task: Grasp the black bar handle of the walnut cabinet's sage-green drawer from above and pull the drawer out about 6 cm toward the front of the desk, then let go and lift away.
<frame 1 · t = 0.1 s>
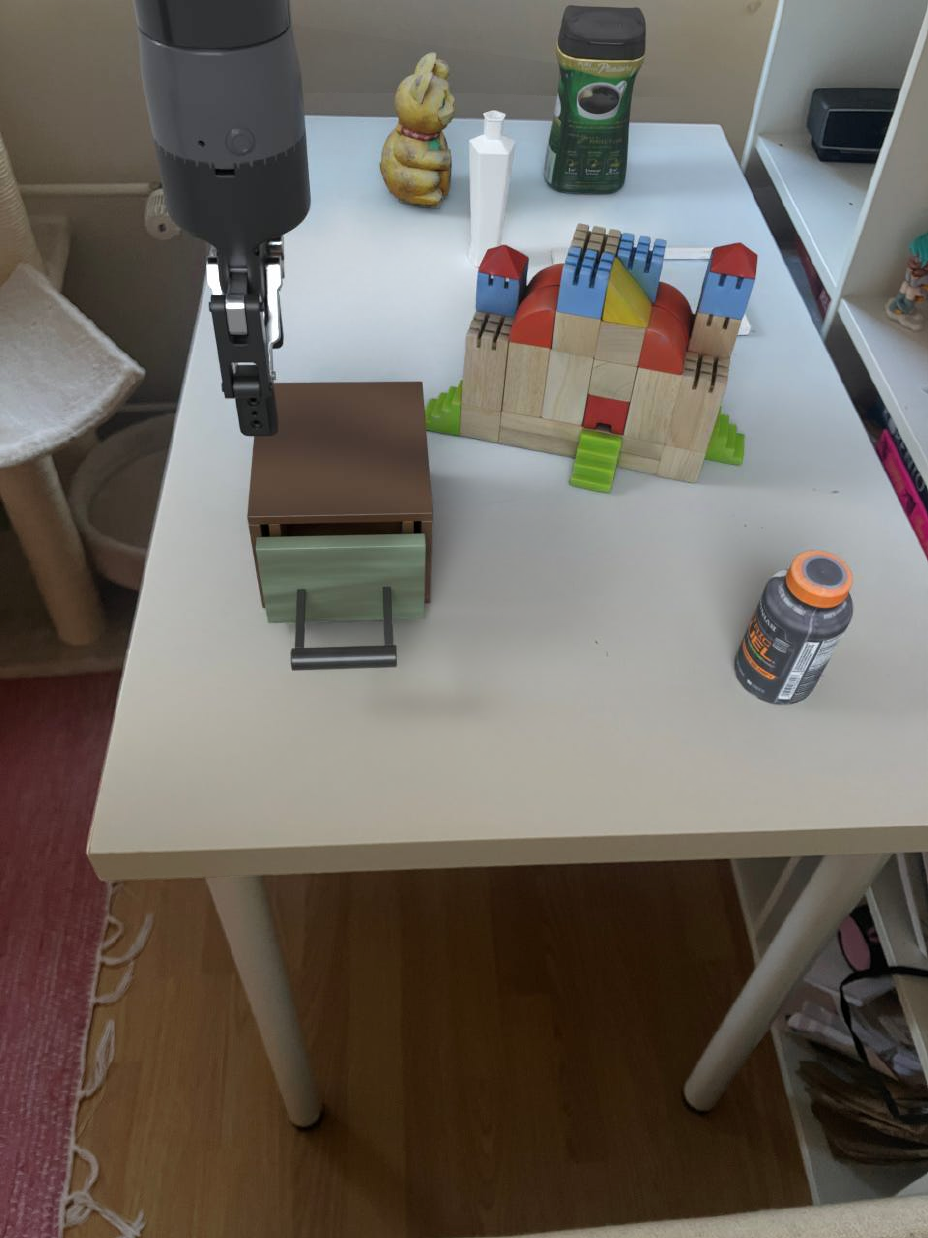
hand: (263, 387, 62), 19 cm above the table, tool pointing down, fingers open, 8 cm apart
block set: (582, 436, 90), on the table
cabinet: (346, 536, 80), on the table
pill bottle: (772, 676, 74), on the table
perfume bottle: (486, 259, 108), on the table
photo frame: (645, 295, 104), on the table
coffee jar: (582, 182, 119), on the table
drawer: (344, 550, 73), point 5 cm above the table, slide at 1.0 cm
decorative figurine: (416, 198, 115), on the table
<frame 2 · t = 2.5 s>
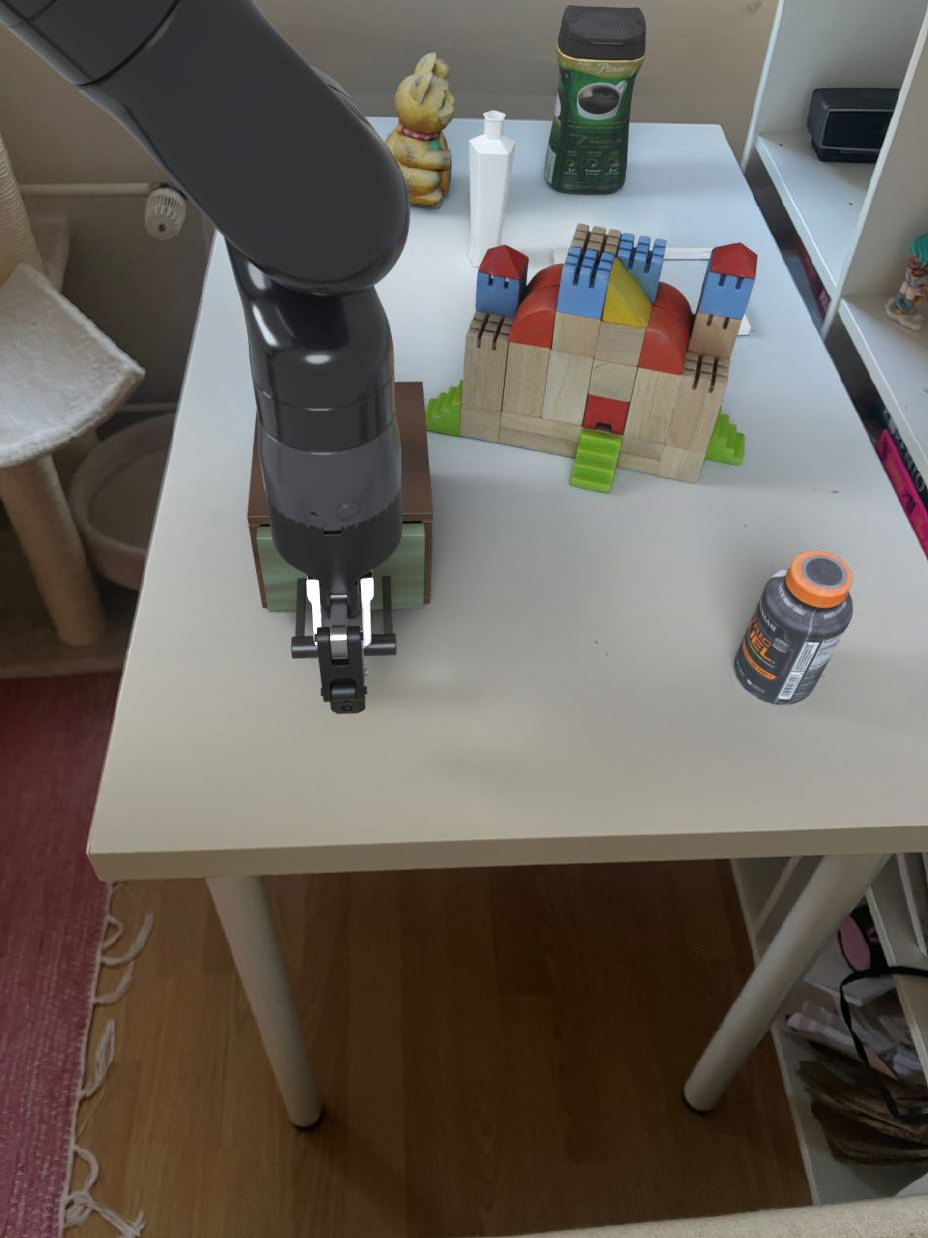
hand: (348, 655, 67), 4 cm above the table, tool pointing down, fingers open, 8 cm apart
drawer: (343, 540, 73), point 5 cm above the table, slide at 0.0 cm, touching cabinet, gripper
everything else where it was.
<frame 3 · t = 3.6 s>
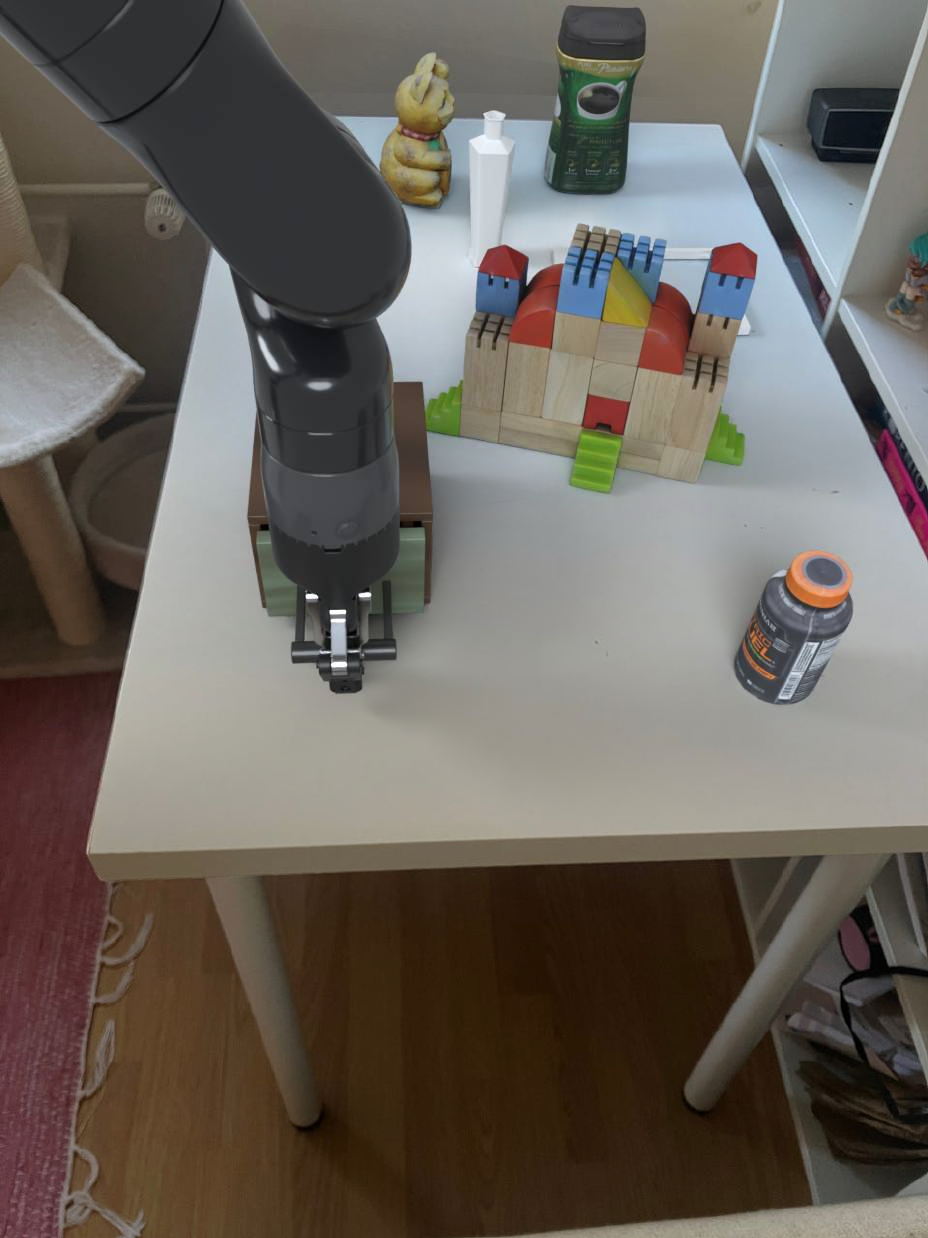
hand: (346, 675, 70), 2 cm above the table, tool pointing down, fingers closed
drawer: (344, 545, 73), point 5 cm above the table, slide at 0.4 cm, touching gripper
everything else where it was.
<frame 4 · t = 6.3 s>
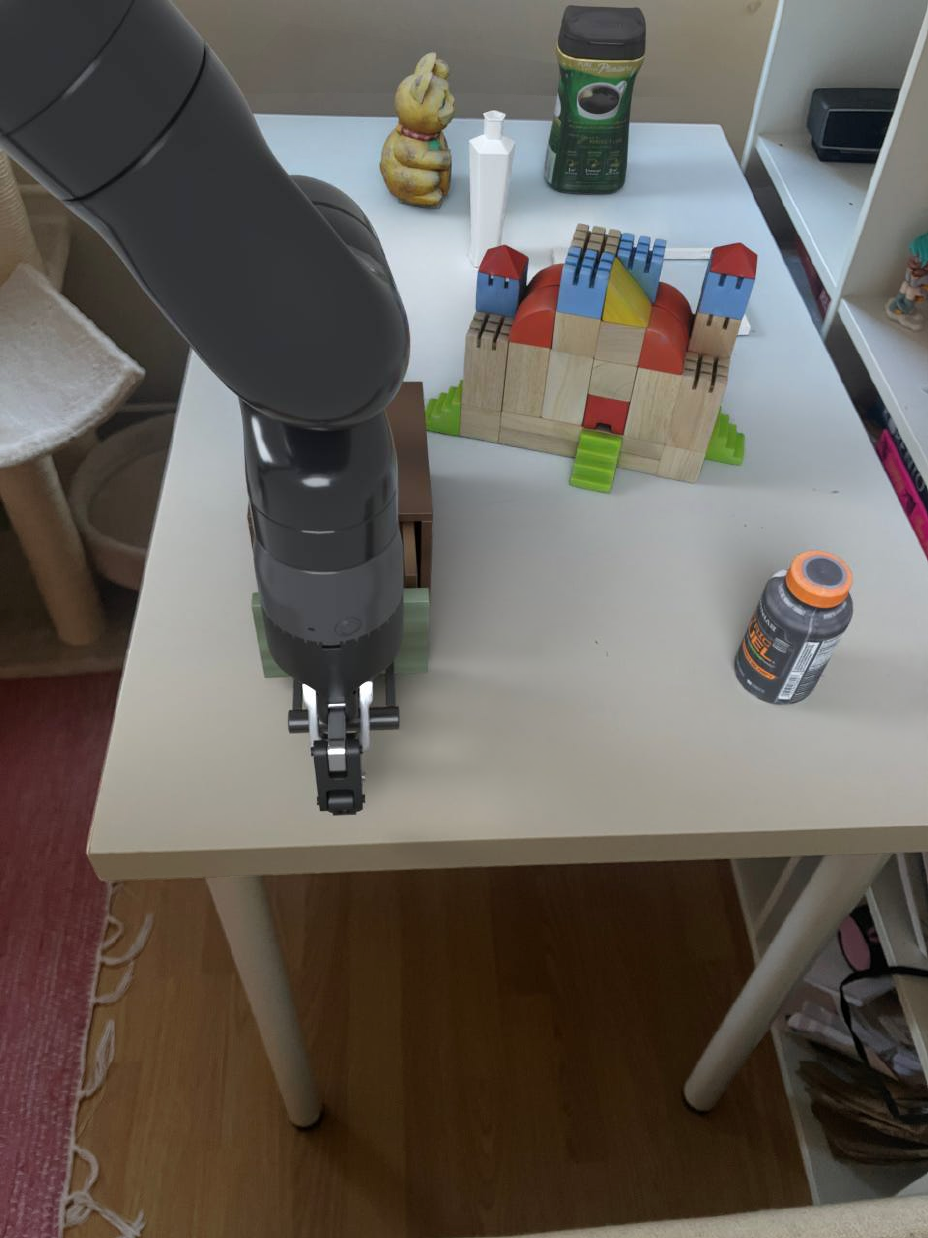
hand: (345, 749, 65), 3 cm above the table, tool pointing down, fingers open, 8 cm apart
drawer: (344, 603, 70), point 5 cm above the table, slide at 6.0 cm, touching gripper
everything else where it was.
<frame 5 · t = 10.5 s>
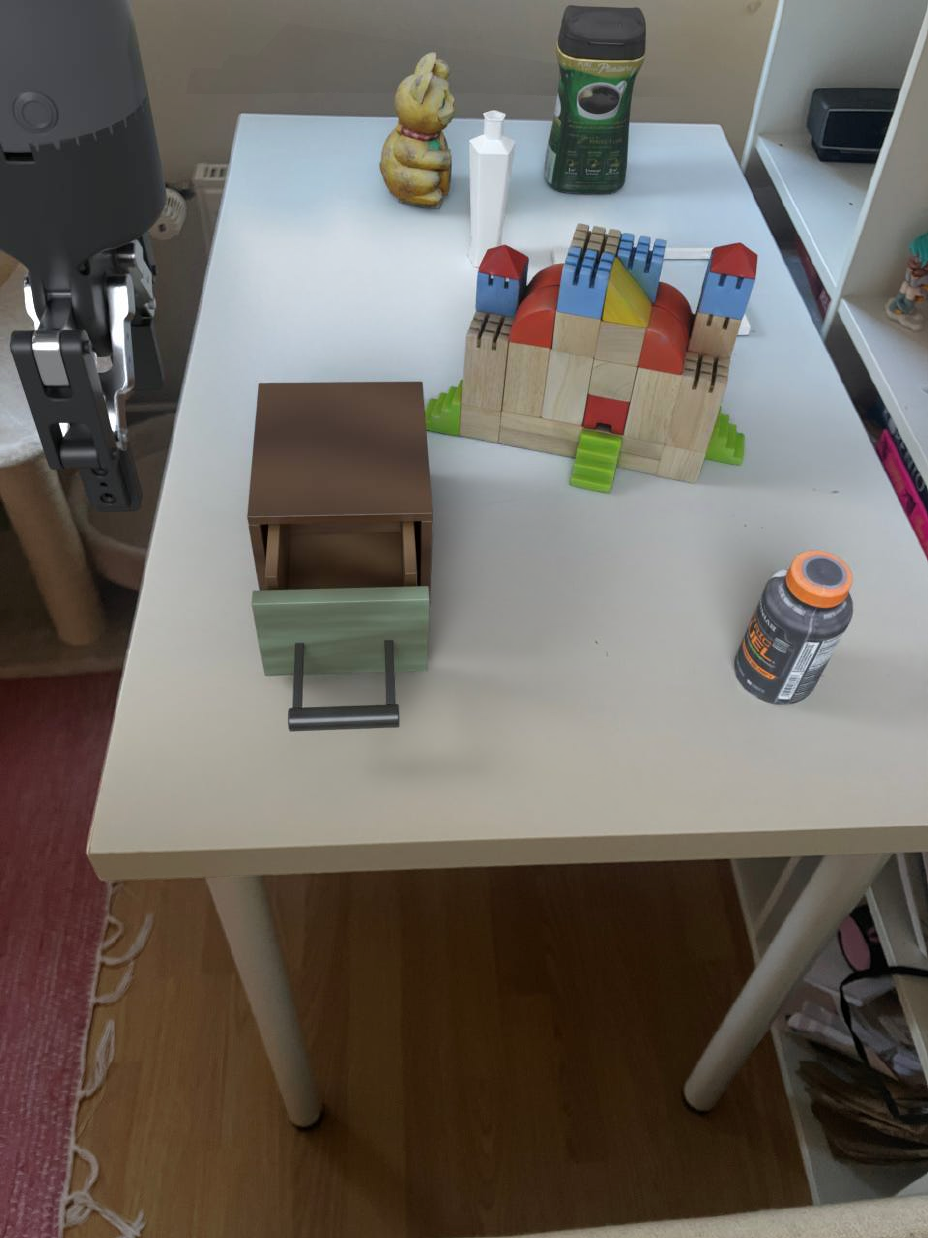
hand: (131, 443, 47), 26 cm above the table, tool pointing down, fingers open, 8 cm apart
drawer: (344, 601, 70), point 5 cm above the table, slide at 5.8 cm
everything else where it was.
at the end: drawer slide at 5.8 cm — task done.
